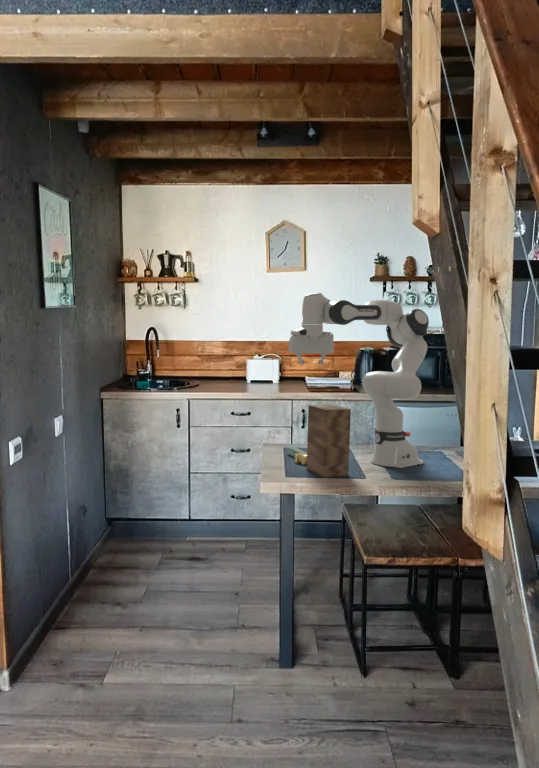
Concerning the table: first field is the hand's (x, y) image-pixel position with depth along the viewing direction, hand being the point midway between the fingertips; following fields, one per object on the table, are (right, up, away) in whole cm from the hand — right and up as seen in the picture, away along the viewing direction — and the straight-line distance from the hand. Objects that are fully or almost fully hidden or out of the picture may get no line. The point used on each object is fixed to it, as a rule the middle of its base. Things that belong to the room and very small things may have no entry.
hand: (311, 364), depth 240 cm
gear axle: (-4, -41, +4) cm, 41 cm away
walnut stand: (+5, -43, -16) cm, 46 cm away
